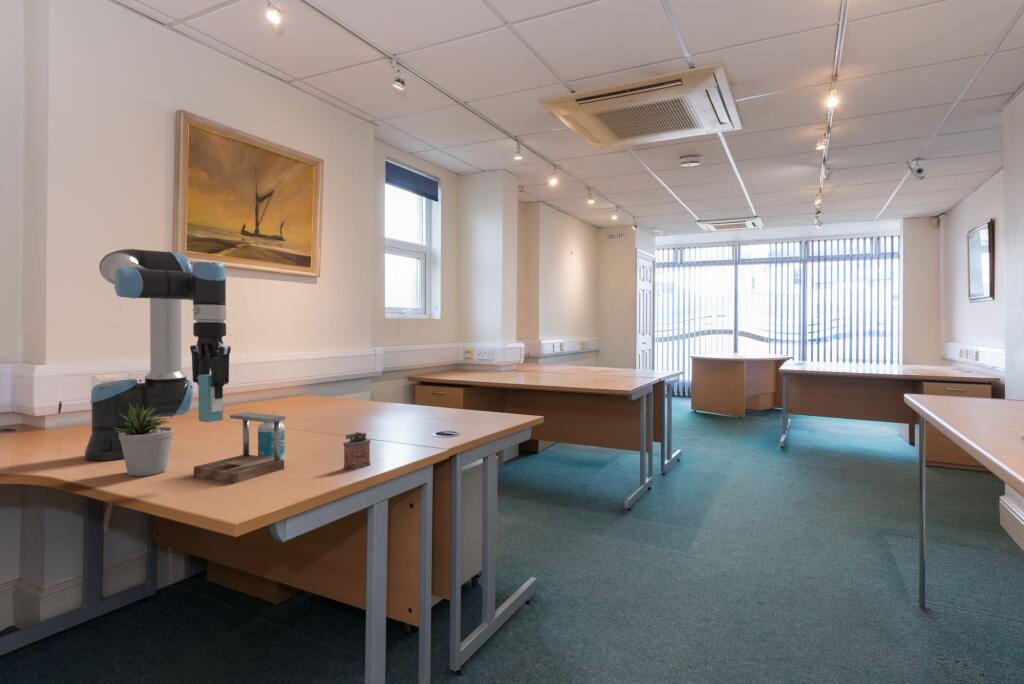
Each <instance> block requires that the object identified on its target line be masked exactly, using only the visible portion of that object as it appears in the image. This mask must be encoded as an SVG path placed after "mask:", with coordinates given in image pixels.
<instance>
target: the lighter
mask: <svg viewBox="0 0 1024 684" xmlns="http://www.w3.org/2000/svg"><path fill="white" fill-rule="evenodd" d="M345 439H346V440H350V441H344V442H343V447H344V448H343V454H344V455H343V458H344V459H343V460H344V462H343V464H344V465H343V470H346V471H347V470H348V471H349V470H355V469H356V470H357V469H361V468H366V467H370V466H371V460H370V458H371V457H370V456H371V455H370V451H371V450H370V447H371V445H370V443H371V439H370V438H367V432H365V431H364V432H359V431H356V432H353V433H347V434H346V435H345Z"/></svg>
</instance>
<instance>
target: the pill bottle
mask: <svg viewBox="0 0 1024 684" xmlns="http://www.w3.org/2000/svg"><path fill="white" fill-rule="evenodd" d="M285 432H286V429H285V425H284V423H282V422H280V460H284V459H285V457H286V455H285V454H286V451H285V450H286V449H285V445H286V442H285V438H286V437H285V435H286V433H285ZM257 456H261V457H267V458H274V422H271V423H266V422H262V423H261V424H260V425H258V427H257Z"/></svg>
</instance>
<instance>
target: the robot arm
mask: <svg viewBox="0 0 1024 684" xmlns="http://www.w3.org/2000/svg"><path fill="white" fill-rule="evenodd" d="M98 267H99V271H100V274H101V276H102V277H103V278H104V279H105V280H106V281H107V282H108V283H110V284H113V285H114V291H115V294H116V295H117V296H118V297H120V298H129V299H149V329H150V330H149V332H150V333H149V335H150V336H149V342H150V343H149V345H150V346H149V348H150V349H149V351H150V352H149V353H150V356H149V358H150V362H149V363H150V365H149V366H150V371H149V372H148V373H147V374H146V375H144V382H141V383H140V382H139V381H138V380H137V379H135V378H127V379H119V380H112V381H106V382H103V383H102V382H101V383H98V384H96V385H94V386H93V387H92V389H91V394H90V401H89V402H90V403H91V405H90V407H91V434H90V437H89V439H88V442H87V444H86V448H85V451H84V459H85V460H87V461H93V462H96V461H97V462H98V461H103V462H104V461H105V462H106V461H114V460H121V459H122V460H123V459H124V455H123V450H122V445H121V441H120V440H119V432H116V431H120V430H116V429H114V428H118V429H128V428H129V427H128V426H126V425H125V424H124V423H128V424H130V423H129V421H128V420H127V419H125V418H124V417H123V416H125V417H127V418H128V419H129V411H130V414H131V413H132V412H131V409H130V405H131V408H132V407H134V408H135V410H136V412H137V404H138V410H139V413H141V411H142V409H143V405H144V411H145V410H148V408H149V407H150V406H151V405H152V404H153V405H152V406H151V408H150V409H149V411H150V410H152V409H153V408H155V410H154V409H153V410H154V412H152V413H151V414H150V415H149V417H148V419H150V418H152V417H154V416H159V417H155V418H154V419H158V418H168V417H170V418H172V417H176V416H182V415H186V414H187V413H188V412H189V411H190V408H191V407H192V406H191V405H192V403H193V398H194V384H193V383H196V384H197V386H198V375H208V374H210V373H211V376H212V383H213V385H210V386H211V412H216V411H222V398H223V397H224V392H223V391H224V390H223V389H224V386H225V385H227V384H228V385H229V382H230V354H231V350H232V349H231V348H232V347H231V345H230V346H227V345H225V344H224V341H223V337H226V336H227V324H226V322H225V321H226V320H227V304H226V303H227V301H226V299H227V297H226V295H227V294H226V291H227V290H226V289H227V287H226V286H227V285H226V283H227V282H226V281H227V280H226V279H227V275H226V268H225V267H226V266H225V264H223V263H221V262H215V261H214V262H213V261H195V262H193V264H192V265H191V262H190V259H189V258H188V257H187V256H186V255H185V254H183V253H180V252H172V251H160V250H148V249H137V248H136V249H135V248H125V249H118V250H114V251H112V252H110V253H107V254H106V255H104V256H103V258H102V259H101V260H100V262H99V266H98ZM183 300H185V301H186V300H189V301H192V304H193V305H192V307H193V309H192V311H193V315H192V316H193V320H194V321H196V322H193V324H192V325H193V327H192V329H193V330H192V331H193V332H192V333H193V334H192V335H193V336H194V337H195V338H197V342H196V344H195V345H190V347H189V350H190V353H191V369H192V370H191V371H192V375H191V376H192V380H189V379H187V374H185V373H184V372H183V371H182V301H183ZM132 410H133V408H132ZM153 410H152V411H153ZM149 411H148V412H149ZM118 413H119V414H118ZM145 413H146V412H145ZM120 414H122V415H123V416H122V415H120ZM131 415H132V414H131ZM144 415H145V414H144ZM132 416H133V415H132ZM130 425H131V424H130ZM113 427H114V428H113ZM114 430H116V431H114Z"/></svg>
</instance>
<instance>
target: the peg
mask: <svg viewBox="0 0 1024 684" xmlns="http://www.w3.org/2000/svg"><path fill="white" fill-rule="evenodd" d="M197 378H198V385H197V386H198V389H197V394H198V397H197V398H198V399H197V400H198V402H197V403H198V404H197V405H198V422H201V423H202V422H203V423H213V422H218V421H223V420H224V416H223V415H224V406H223V405H224V404H223V398H222V411H216V412H211V386H210V385H213V383H212V376H211V374H208V375H198V377H197Z"/></svg>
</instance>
